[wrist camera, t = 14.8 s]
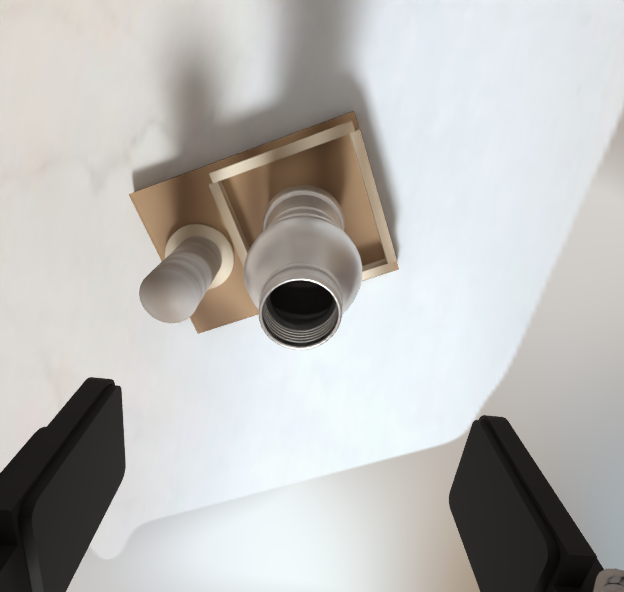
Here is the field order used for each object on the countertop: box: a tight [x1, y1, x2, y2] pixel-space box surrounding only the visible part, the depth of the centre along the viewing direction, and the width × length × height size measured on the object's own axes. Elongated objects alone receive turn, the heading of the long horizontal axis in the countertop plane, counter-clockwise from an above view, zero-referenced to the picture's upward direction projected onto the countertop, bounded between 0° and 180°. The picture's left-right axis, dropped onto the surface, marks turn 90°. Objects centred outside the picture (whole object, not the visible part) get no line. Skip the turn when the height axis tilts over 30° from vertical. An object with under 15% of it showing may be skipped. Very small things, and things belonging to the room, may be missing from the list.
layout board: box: [129, 111, 399, 333], centre depth 34 cm, size 20×14×11 cm
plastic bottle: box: [244, 185, 362, 350], centre depth 28 cm, size 6×7×20 cm
